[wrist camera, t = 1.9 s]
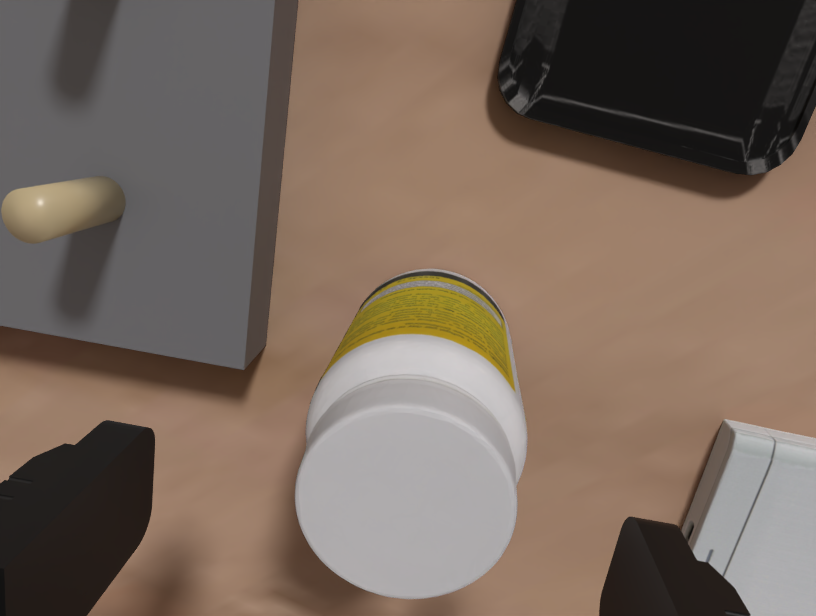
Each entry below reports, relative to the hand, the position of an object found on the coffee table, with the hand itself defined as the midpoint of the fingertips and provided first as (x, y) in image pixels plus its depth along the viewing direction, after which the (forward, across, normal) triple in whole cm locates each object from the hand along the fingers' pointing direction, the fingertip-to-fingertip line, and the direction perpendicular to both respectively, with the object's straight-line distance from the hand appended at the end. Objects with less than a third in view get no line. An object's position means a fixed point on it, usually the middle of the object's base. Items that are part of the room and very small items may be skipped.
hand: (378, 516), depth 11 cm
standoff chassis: (+9, +12, -6) cm, 16 cm away
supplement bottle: (+9, -1, 0) cm, 9 cm away
